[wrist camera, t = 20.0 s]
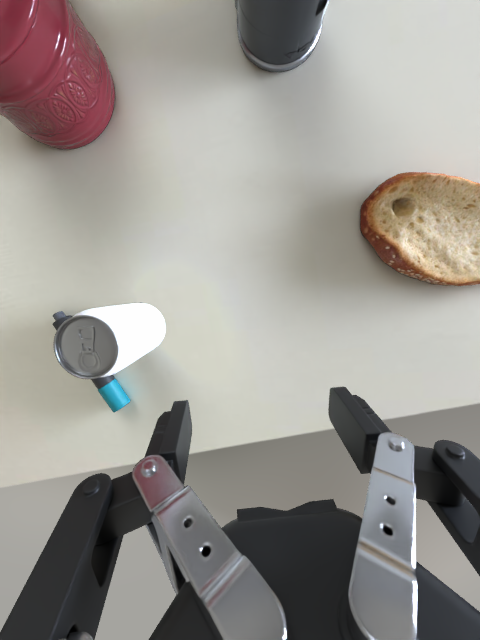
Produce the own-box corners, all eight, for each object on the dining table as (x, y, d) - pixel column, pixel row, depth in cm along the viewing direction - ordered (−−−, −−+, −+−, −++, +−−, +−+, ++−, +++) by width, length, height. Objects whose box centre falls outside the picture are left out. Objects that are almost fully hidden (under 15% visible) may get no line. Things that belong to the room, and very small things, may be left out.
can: (120, 351, 34) (53, 384, 22) (116, 303, 33) (43, 310, 21) (168, 350, 34) (126, 383, 22) (165, 301, 33) (119, 308, 21)
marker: (66, 312, 34) (46, 320, 32) (67, 306, 32) (46, 314, 31) (127, 401, 35) (111, 412, 34) (132, 400, 33) (115, 412, 32)
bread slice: (548, 249, 31) (590, 243, 27) (417, 329, 32) (439, 334, 29) (479, 118, 29) (512, 93, 26) (345, 209, 31) (358, 198, 27)
